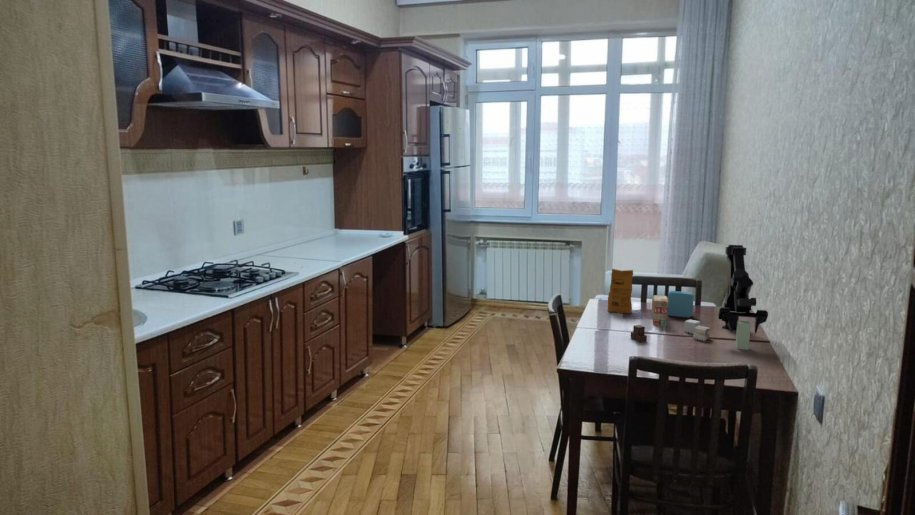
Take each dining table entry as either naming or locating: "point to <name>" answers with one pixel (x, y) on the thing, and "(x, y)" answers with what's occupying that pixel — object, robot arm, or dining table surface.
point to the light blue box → (680, 304)
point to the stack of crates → (639, 334)
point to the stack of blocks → (659, 310)
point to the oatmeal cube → (701, 333)
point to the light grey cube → (691, 325)
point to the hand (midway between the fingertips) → (743, 332)
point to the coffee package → (620, 291)
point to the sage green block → (743, 335)
